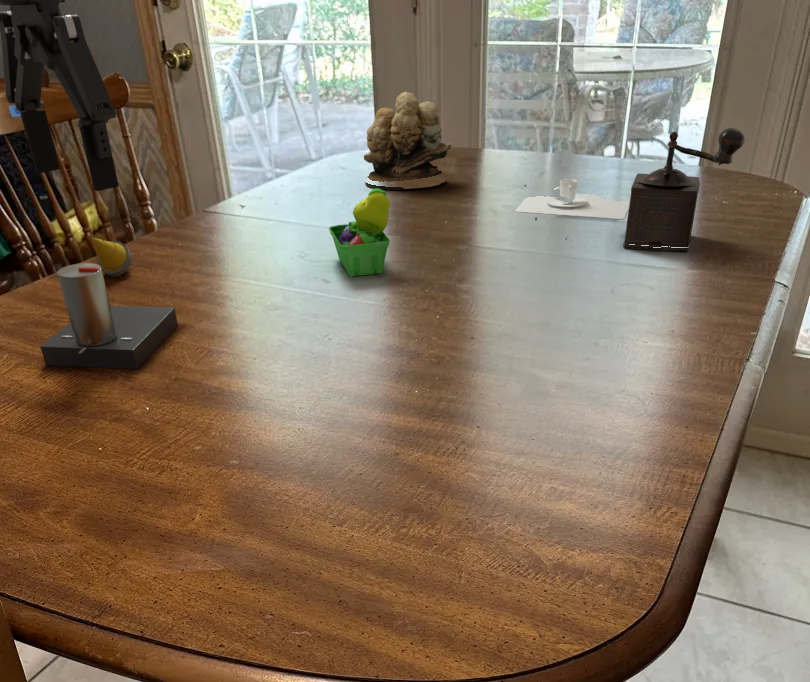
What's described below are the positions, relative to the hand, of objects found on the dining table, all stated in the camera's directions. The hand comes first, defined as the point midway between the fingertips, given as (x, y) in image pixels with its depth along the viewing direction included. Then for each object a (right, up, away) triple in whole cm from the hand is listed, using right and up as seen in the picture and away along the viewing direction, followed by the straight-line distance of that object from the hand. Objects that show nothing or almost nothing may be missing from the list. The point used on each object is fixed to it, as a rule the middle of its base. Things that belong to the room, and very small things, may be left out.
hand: (76, 179), depth 97 cm
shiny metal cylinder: (0, -17, +6) cm, 18 cm away
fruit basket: (+32, +1, +34) cm, 47 cm away
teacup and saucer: (+72, +23, +62) cm, 97 cm away
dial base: (+1, -17, +11) cm, 20 cm away
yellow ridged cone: (-7, -1, +33) cm, 34 cm away
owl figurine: (+39, +32, +76) cm, 91 cm away
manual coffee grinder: (+83, +7, +40) cm, 92 cm away
